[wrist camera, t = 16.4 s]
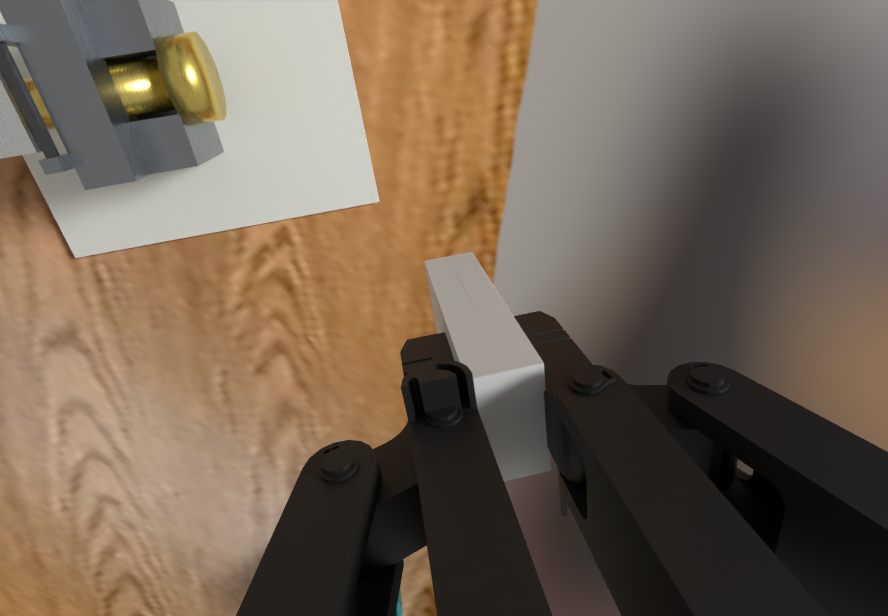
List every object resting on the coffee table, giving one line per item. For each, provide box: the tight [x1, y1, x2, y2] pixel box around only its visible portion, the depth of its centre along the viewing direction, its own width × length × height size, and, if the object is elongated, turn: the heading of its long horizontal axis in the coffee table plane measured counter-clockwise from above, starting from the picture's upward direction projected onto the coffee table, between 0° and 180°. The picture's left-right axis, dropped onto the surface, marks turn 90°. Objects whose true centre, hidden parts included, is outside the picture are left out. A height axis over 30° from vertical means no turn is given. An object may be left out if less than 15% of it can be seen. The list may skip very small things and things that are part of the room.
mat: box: [0, 0, 379, 258], centre depth 36 cm, size 22×25×1 cm
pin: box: [23, 32, 227, 130], centre depth 31 cm, size 13×5×5 cm, turn 99°
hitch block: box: [0, 0, 224, 190], centre depth 31 cm, size 7×10×10 cm
